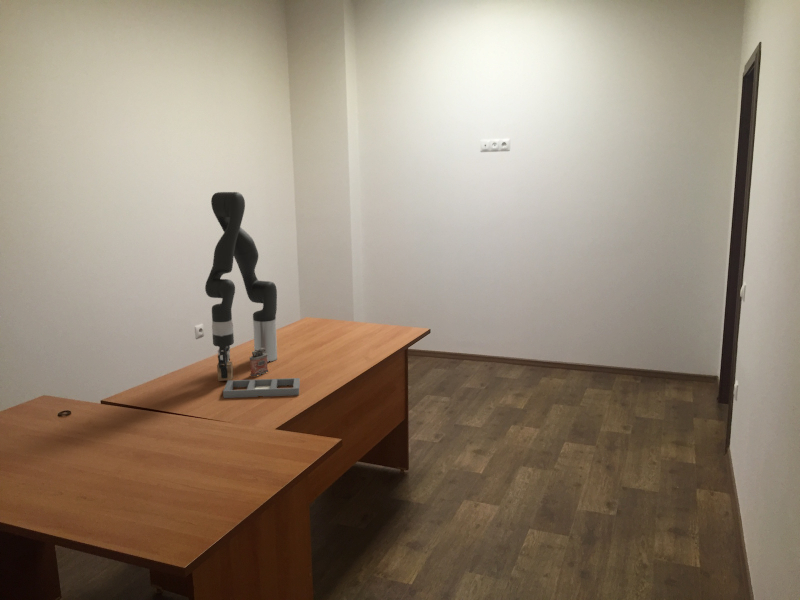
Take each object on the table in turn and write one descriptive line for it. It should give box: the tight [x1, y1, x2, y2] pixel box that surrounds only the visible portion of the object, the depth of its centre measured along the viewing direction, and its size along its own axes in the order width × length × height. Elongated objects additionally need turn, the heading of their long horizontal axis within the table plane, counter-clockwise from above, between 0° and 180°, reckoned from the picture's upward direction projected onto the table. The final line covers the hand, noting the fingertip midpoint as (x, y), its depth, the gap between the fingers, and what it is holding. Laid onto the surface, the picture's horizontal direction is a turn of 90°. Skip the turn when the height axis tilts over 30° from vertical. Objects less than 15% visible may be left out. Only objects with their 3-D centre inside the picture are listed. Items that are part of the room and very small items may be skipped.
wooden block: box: [216, 361, 234, 382], centre depth 241 cm, size 4×5×6 cm
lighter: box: [249, 348, 269, 377], centre depth 249 cm, size 8×3×10 cm, turn 143°
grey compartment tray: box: [222, 377, 301, 399], centre depth 230 cm, size 12×26×2 cm, turn 97°
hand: (225, 375), depth 241 cm, fingers closed on wooden block, 4 cm apart
